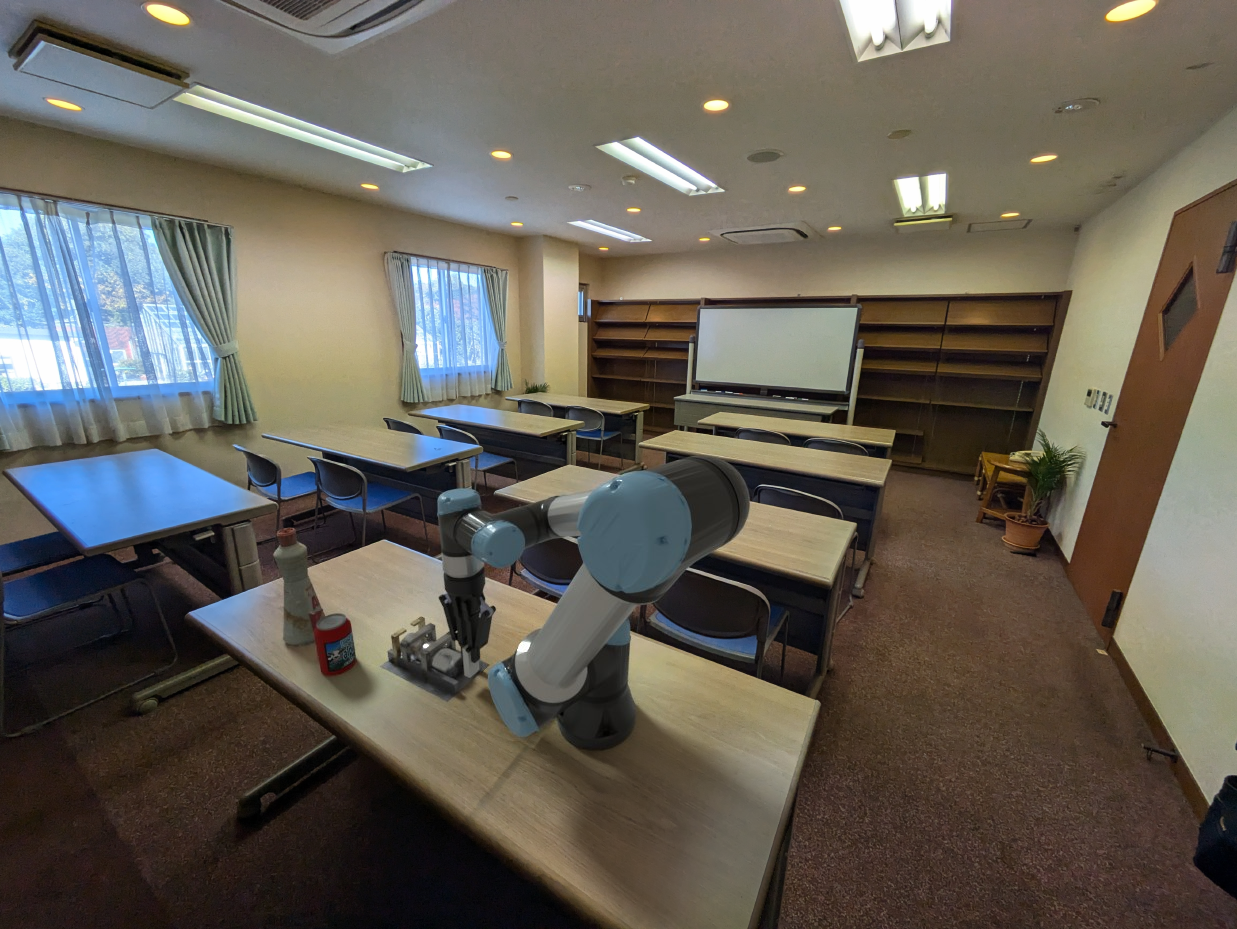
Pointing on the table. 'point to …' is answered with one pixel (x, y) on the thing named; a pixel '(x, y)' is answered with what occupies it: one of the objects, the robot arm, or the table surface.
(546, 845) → the table surface
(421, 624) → the grey slotted rack
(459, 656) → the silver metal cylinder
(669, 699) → the table surface
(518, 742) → the table surface
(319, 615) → the bottle
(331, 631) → the beverage can
